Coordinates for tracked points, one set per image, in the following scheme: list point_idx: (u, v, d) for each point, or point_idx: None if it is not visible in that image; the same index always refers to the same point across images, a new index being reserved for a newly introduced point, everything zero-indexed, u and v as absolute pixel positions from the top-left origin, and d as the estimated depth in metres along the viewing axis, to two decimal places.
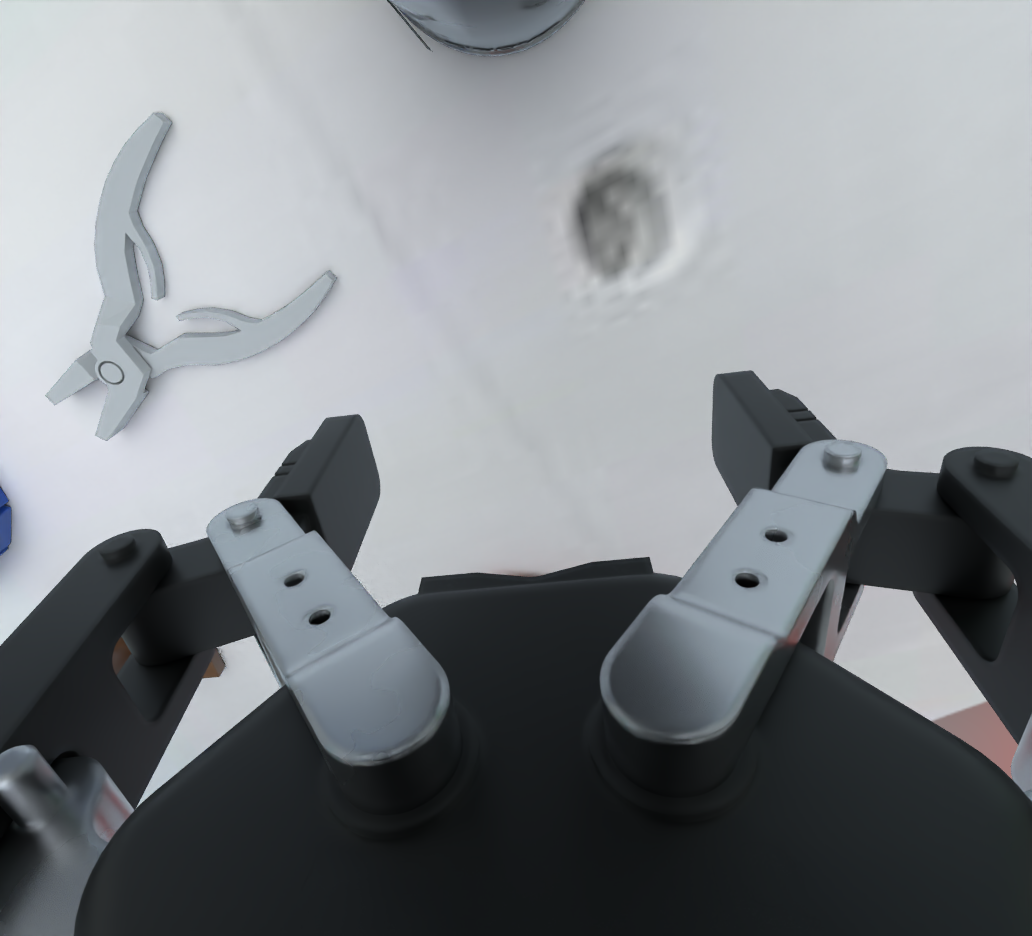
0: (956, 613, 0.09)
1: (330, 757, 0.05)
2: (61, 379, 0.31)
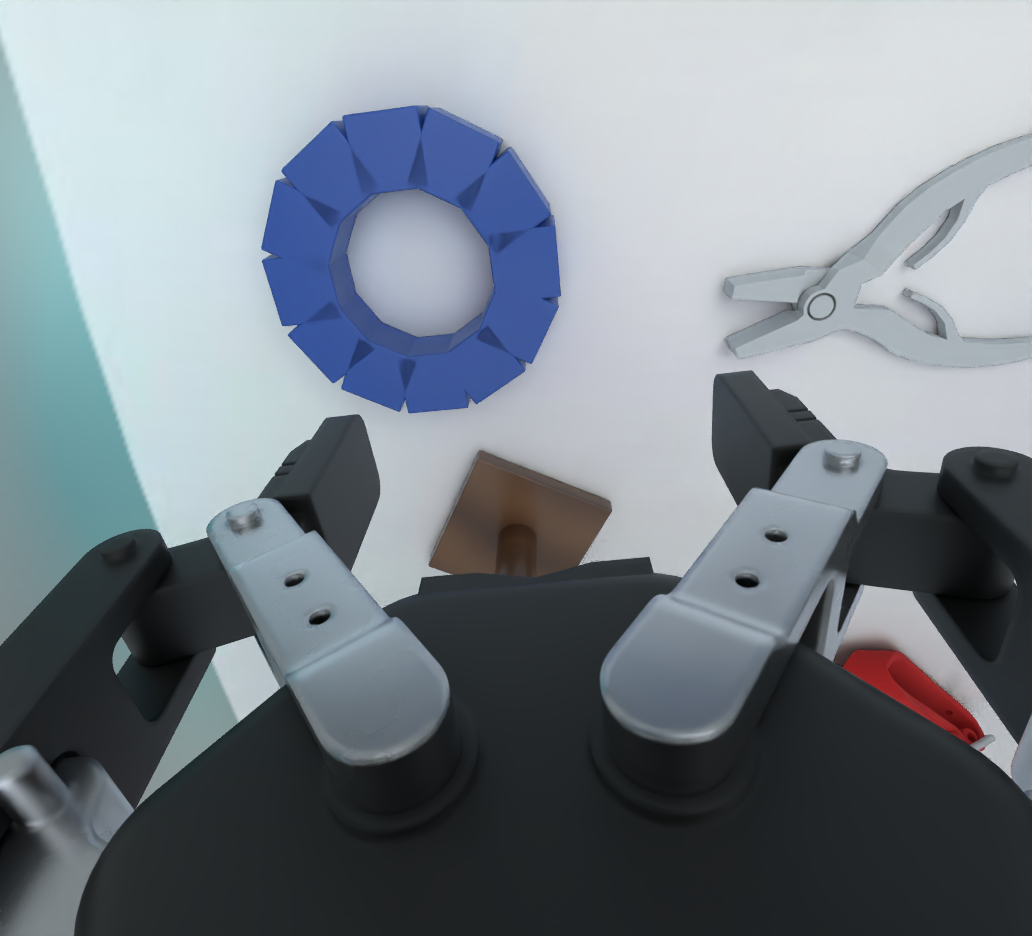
0: (956, 613, 0.09)
1: (330, 756, 0.05)
2: (768, 282, 0.27)
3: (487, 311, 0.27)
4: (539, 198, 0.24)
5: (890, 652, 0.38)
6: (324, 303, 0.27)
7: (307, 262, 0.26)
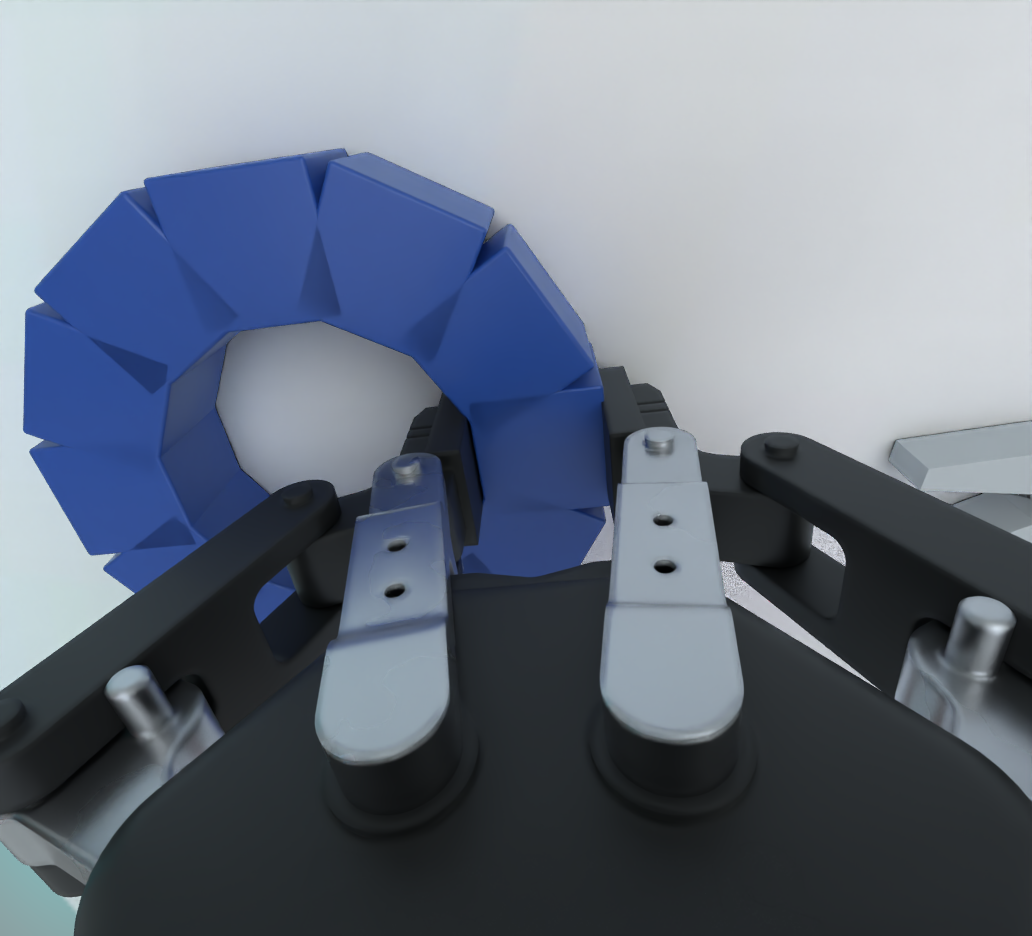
0: (784, 584, 0.10)
1: (318, 735, 0.05)
2: (993, 462, 0.14)
3: None
4: (572, 337, 0.12)
5: None
6: (161, 520, 0.14)
7: (117, 454, 0.13)
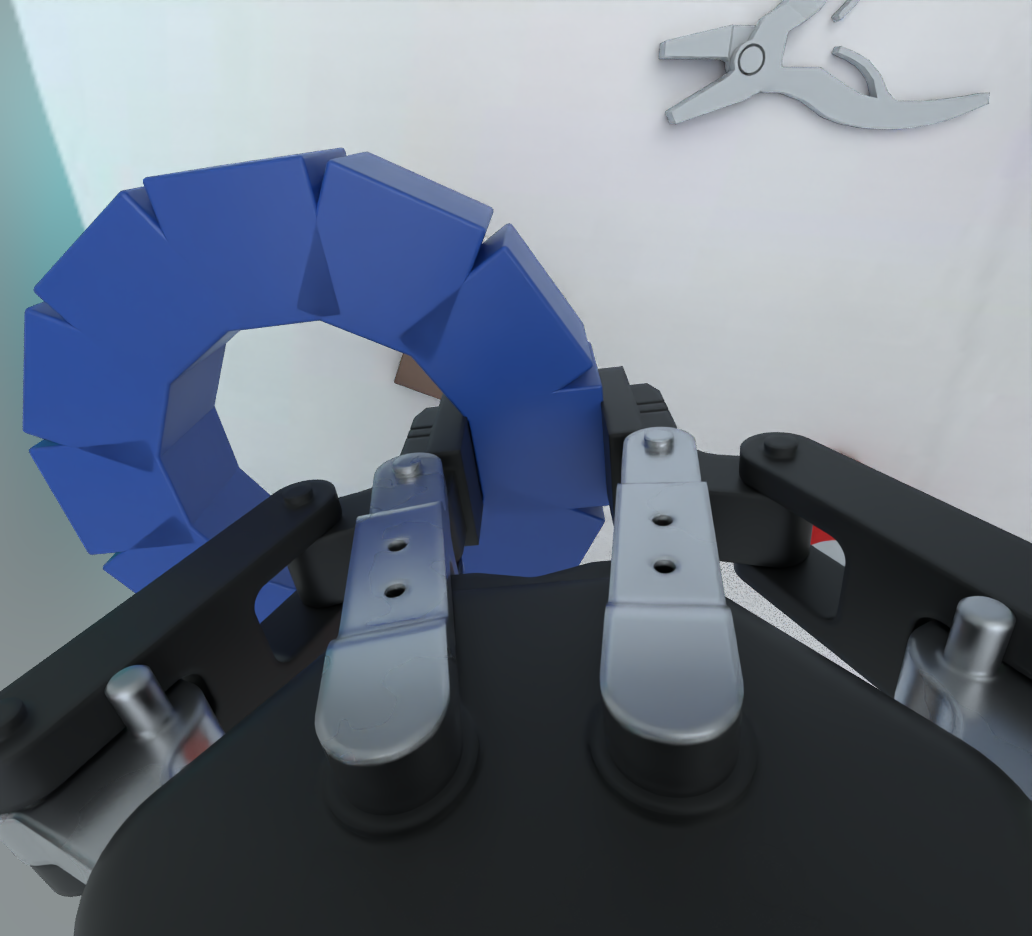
0: (783, 584, 0.10)
1: (319, 734, 0.05)
2: (698, 34, 0.28)
3: None
4: (571, 337, 0.12)
5: None
6: (160, 519, 0.14)
7: (116, 453, 0.13)
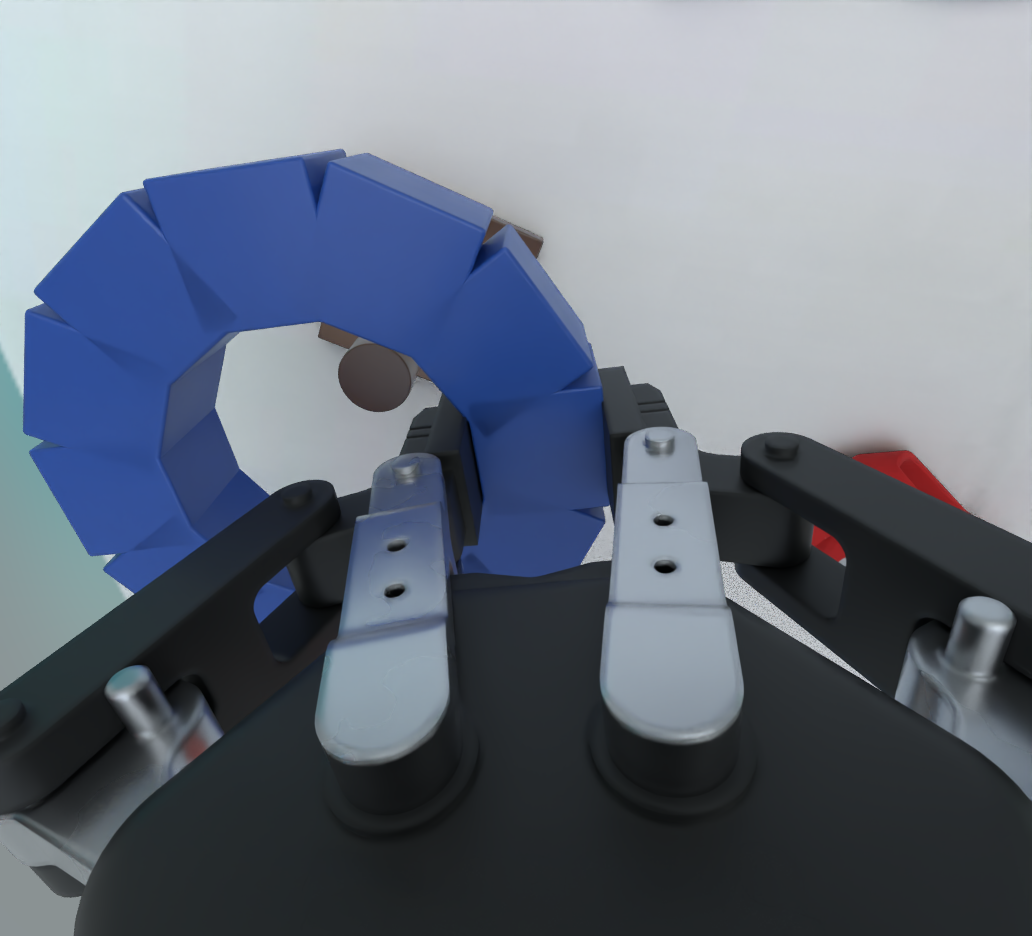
0: (784, 584, 0.10)
1: (318, 735, 0.05)
2: None
3: None
4: (571, 337, 0.12)
5: (901, 451, 0.31)
6: (161, 521, 0.14)
7: (117, 455, 0.13)
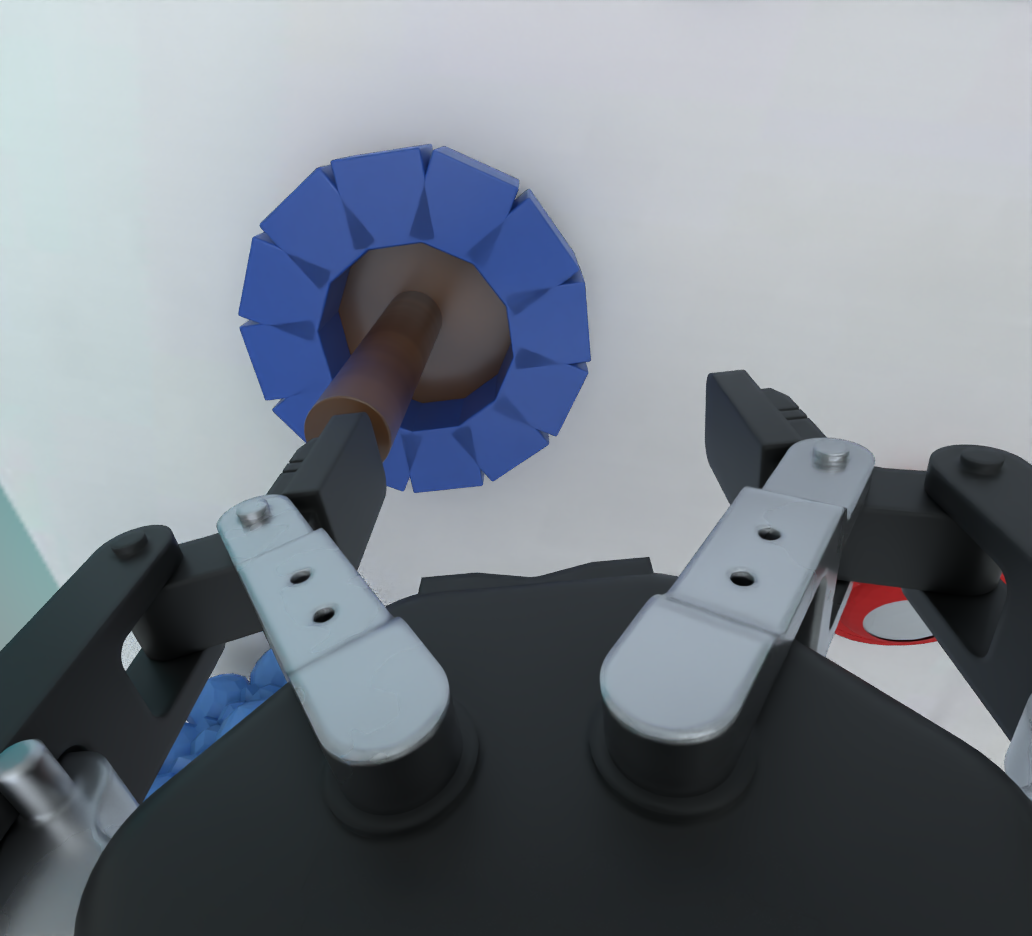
0: (945, 610, 0.09)
1: (329, 756, 0.05)
2: None
3: (504, 379, 0.23)
4: (566, 251, 0.21)
5: None
6: (314, 374, 0.23)
7: (292, 329, 0.22)
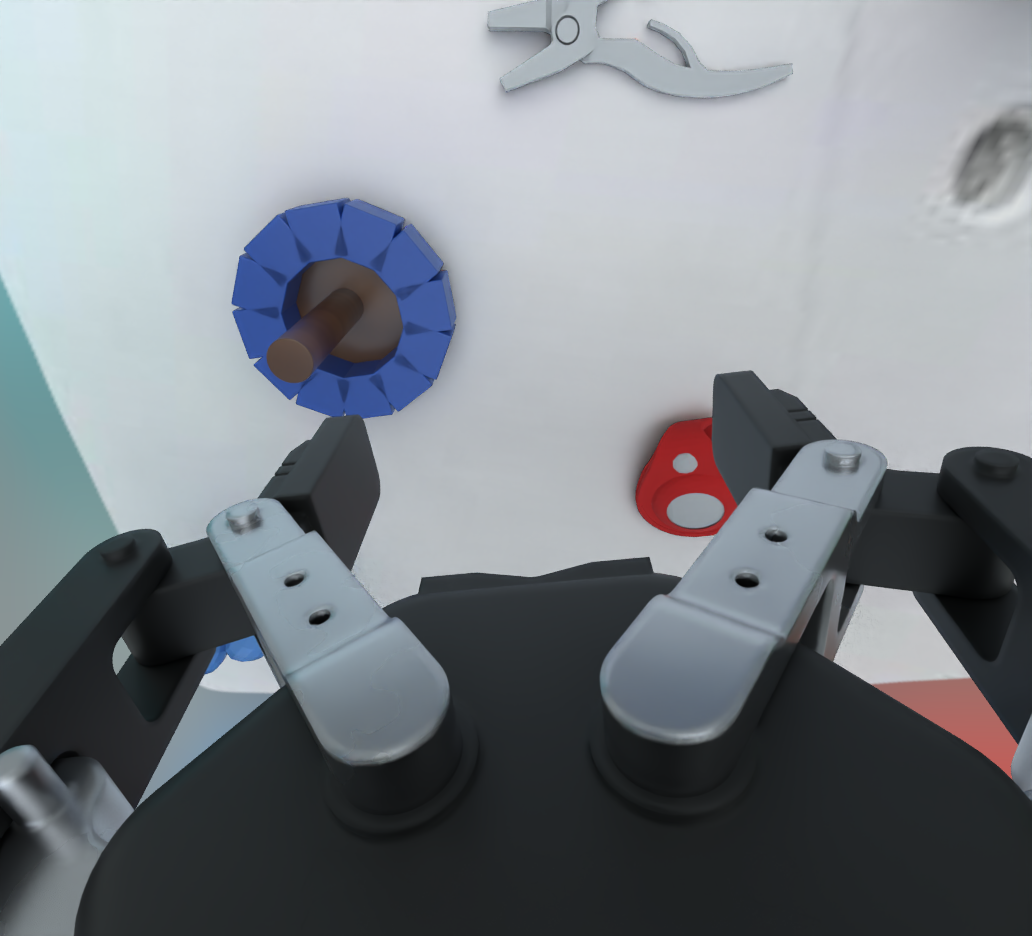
0: (956, 613, 0.09)
1: (330, 757, 0.05)
2: (516, 6, 0.31)
3: (399, 342, 0.36)
4: (428, 261, 0.34)
5: (708, 418, 0.41)
6: None
7: (265, 312, 0.36)
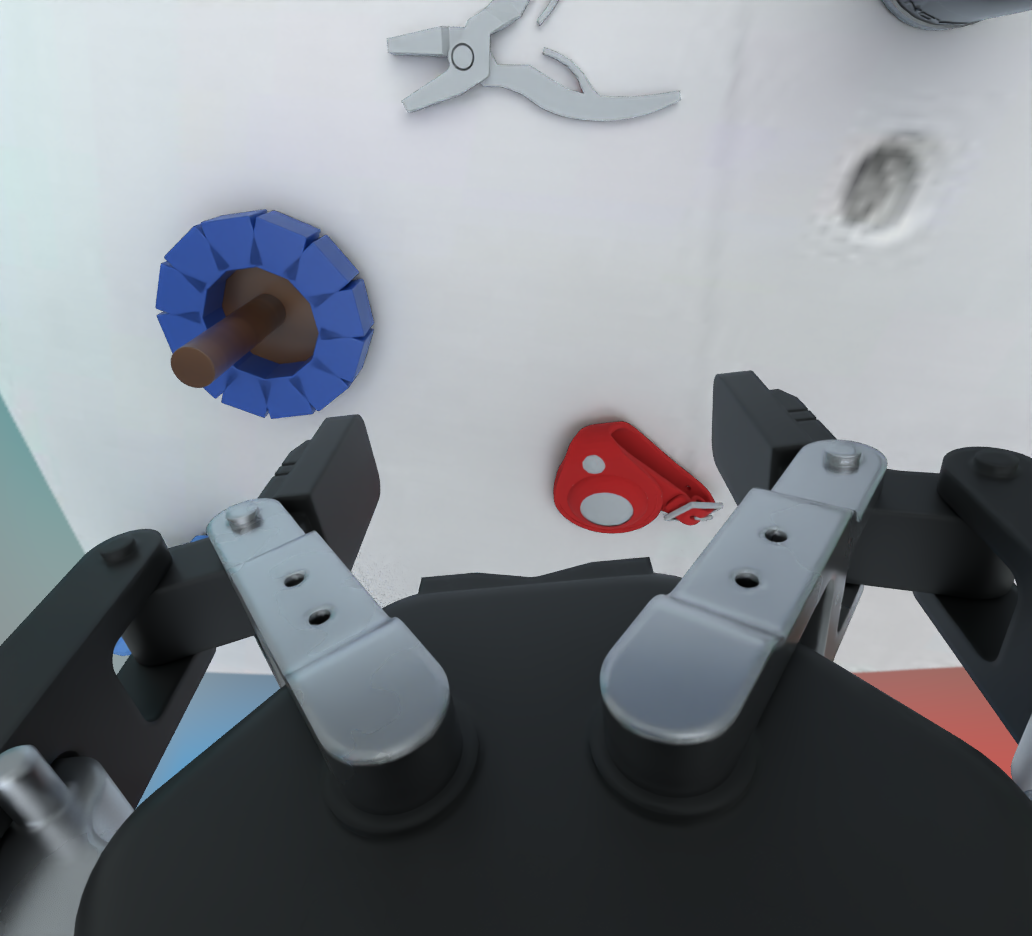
0: (956, 613, 0.09)
1: (330, 757, 0.05)
2: (414, 34, 0.32)
3: (315, 347, 0.39)
4: (338, 272, 0.36)
5: None
6: None
7: (187, 316, 0.38)
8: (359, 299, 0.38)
